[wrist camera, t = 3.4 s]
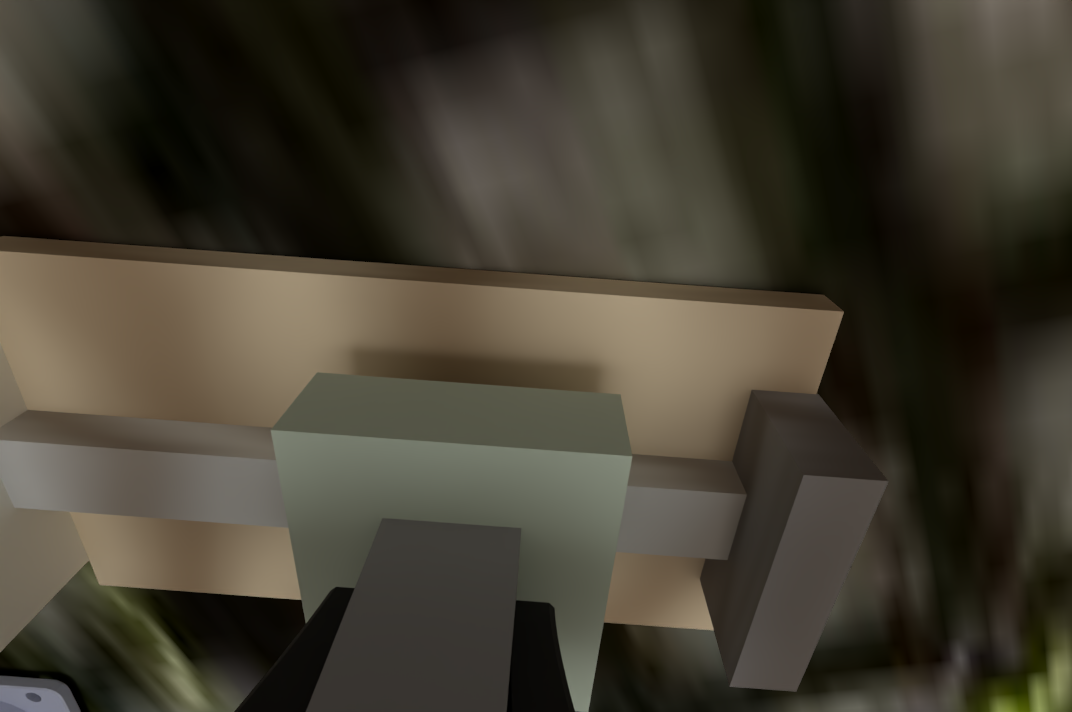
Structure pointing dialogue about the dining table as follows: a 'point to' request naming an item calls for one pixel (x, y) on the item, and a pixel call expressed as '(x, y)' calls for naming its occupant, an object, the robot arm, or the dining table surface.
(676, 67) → the dining table surface
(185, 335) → the rail bed
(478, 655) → the carriage
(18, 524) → the end cabinet
